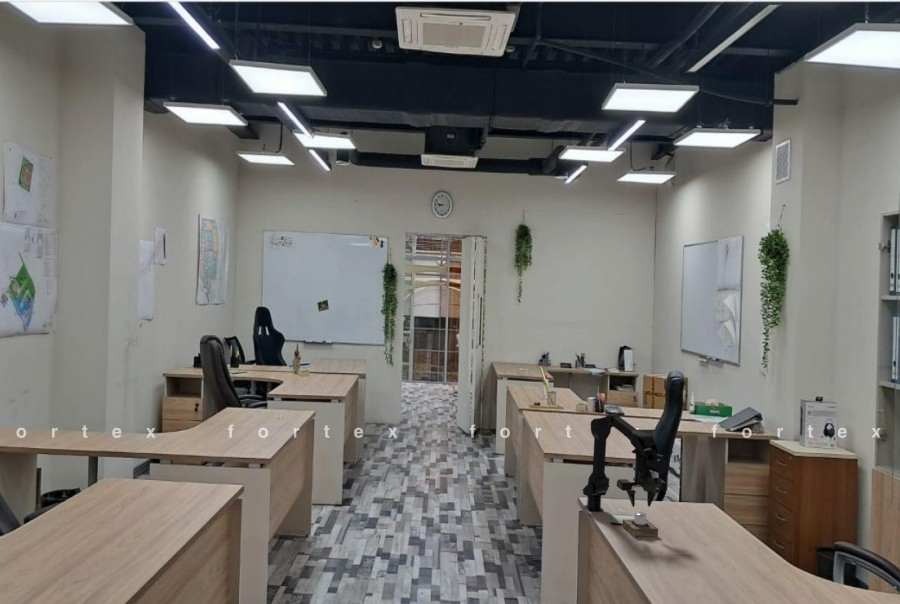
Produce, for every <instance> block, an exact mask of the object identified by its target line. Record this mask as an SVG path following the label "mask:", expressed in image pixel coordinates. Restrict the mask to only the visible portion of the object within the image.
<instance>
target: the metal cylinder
mask: <svg viewBox="0 0 900 604" xmlns="http://www.w3.org/2000/svg"><path fill="white" fill-rule="evenodd" d="M646 519H647V514H646V513H645V512H641V511H636V512H634V525H635V526H636V527H646Z"/></svg>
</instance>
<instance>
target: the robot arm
mask: <svg viewBox="0 0 900 604" xmlns="http://www.w3.org/2000/svg"><path fill="white" fill-rule="evenodd" d="M612 428H615V429H616V430H617V431H619V432H620V433H621V434H622V435H623V436H625V437H626V438H627V439H629V441H630V444H631V446H633V448H634V449H633V450H631V453H632V454H634V455H635V459H634V460H635V461H634V462H635V463H634V464H635V465H634V466H633V471H634V477H633V478H632V479H633V481H630V480H628V479H625V478H624V479H622V478H621V479H619V478H618V480H617V481H616V487H617V488H618V489H620V490H621V491H626V493H627V495H628V498H629V500H630V504H631V506H632V508H634V507H635V503H636V498H635V496H636V493H637V491H636V490H635V488H642V490H643V491H644V492H647V497H646V498H647V500H646V502H647V503H646V504H647V507H651V506H652V503H653V501H654V499H655V496H656V495H657V494H658V493H661V491H668V483H667V482H666V481H664V480H663V479H661V477H654V476H653V473H652V472H655V473H657V474H659V475H664V474H665V473H666V472H667V470H668V469H669V463H668V461H667V460H666V458H665V455H663V454H660V450H659V448H658V447H657V445H656V442H655V440H654V437H653V436H652V435H651V434H650V433H647V432H645V431H642V430H639V429H636V428H635V427H634V426H632V425H631V424H630V423H629V422H627V421H626V420H625V419H623V418H622V417H621V416H620V414H617V413H615V414H613V413H612V414H608V415H605V416H602V417H601V418H600V417H599V418H593V419H591V421H590V432H591V435H592V436H593V439H594V440H593V456H592V457H593V459H592V471H591V473H590V475H589V477H588V480H587V484H586V485H585V486H584V488H582V494H583V496H586V497H587V500H586V501H587V503H586V504H584V508H585V509H586V510H587V511H588V512H604V508H602V507H601V506H602V496H606V495H607V491H609V488H610V478H609V477H607V475H606V473H605V472H606V470H605V469H606V453H607V452H606V450H607V439H608V437H610V434H611V430H612Z"/></svg>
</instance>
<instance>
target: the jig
mask: <svg viewBox="0 0 900 604" xmlns="http://www.w3.org/2000/svg"><path fill="white" fill-rule="evenodd" d="M622 528H623V529H624V530H625V531H626V532H627V533H628V532H629V533H630V534H629V533H628V534H629V535H630V536H632V537H633V538H635V537H634V536H659V528H658V527H657V526H656V525H655V524H653V523H652V522H651V521H649V519H647V518H646V527H636V526H635V525H634V519H631V518H630V519H622Z"/></svg>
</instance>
